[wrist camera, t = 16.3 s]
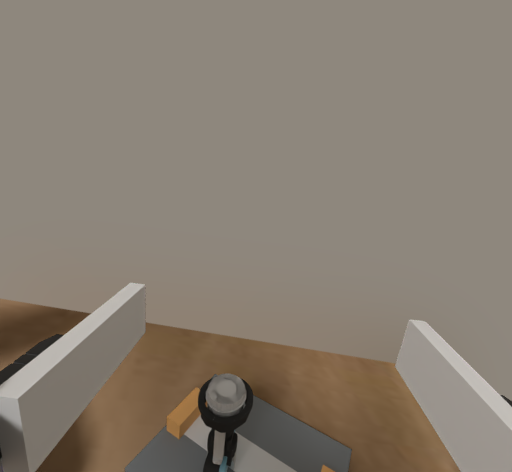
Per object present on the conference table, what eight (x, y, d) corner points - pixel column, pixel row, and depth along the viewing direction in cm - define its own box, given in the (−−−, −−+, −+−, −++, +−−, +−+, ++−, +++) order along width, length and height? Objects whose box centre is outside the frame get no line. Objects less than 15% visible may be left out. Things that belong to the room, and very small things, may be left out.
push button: (209, 422, 31) (213, 354, 29) (251, 432, 31) (259, 363, 28) (186, 487, 25) (189, 406, 22) (239, 501, 24) (248, 420, 22)
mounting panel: (124, 476, 26) (124, 453, 25) (214, 380, 39) (216, 362, 38) (314, 660, 17) (322, 633, 16) (349, 457, 30) (355, 436, 29)
